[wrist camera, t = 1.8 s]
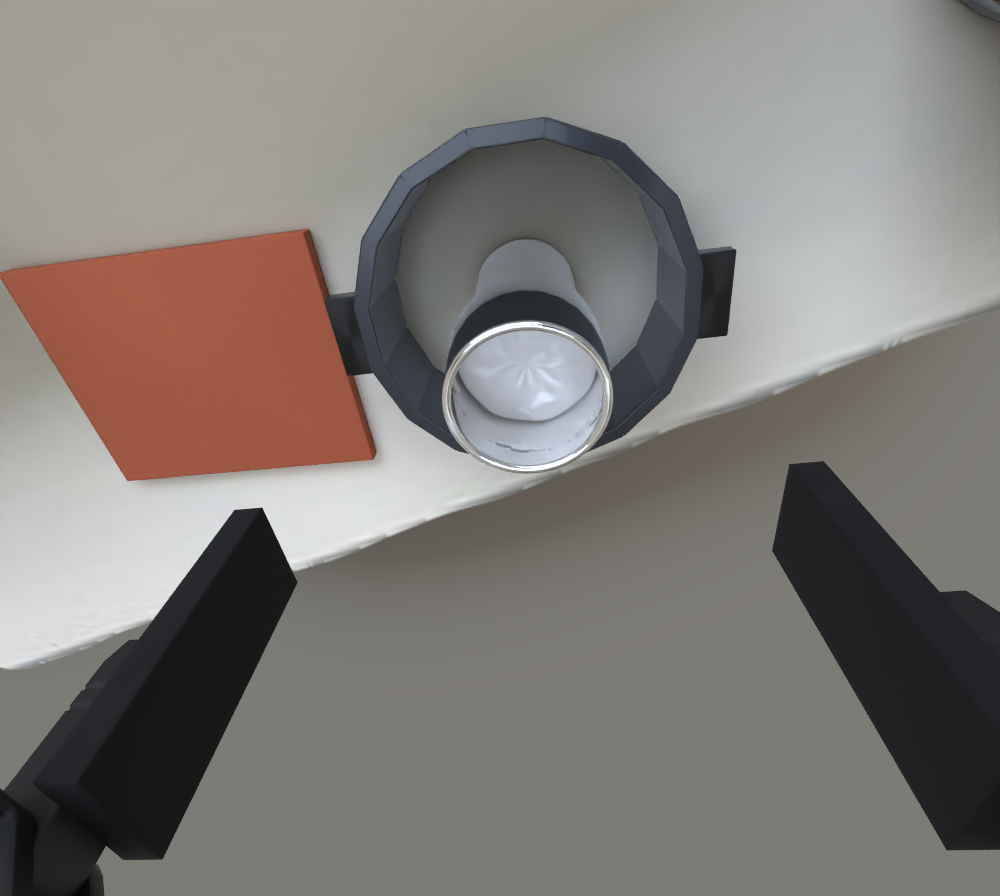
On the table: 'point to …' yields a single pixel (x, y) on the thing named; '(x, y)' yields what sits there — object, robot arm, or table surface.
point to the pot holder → (201, 355)
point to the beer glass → (527, 365)
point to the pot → (636, 379)
